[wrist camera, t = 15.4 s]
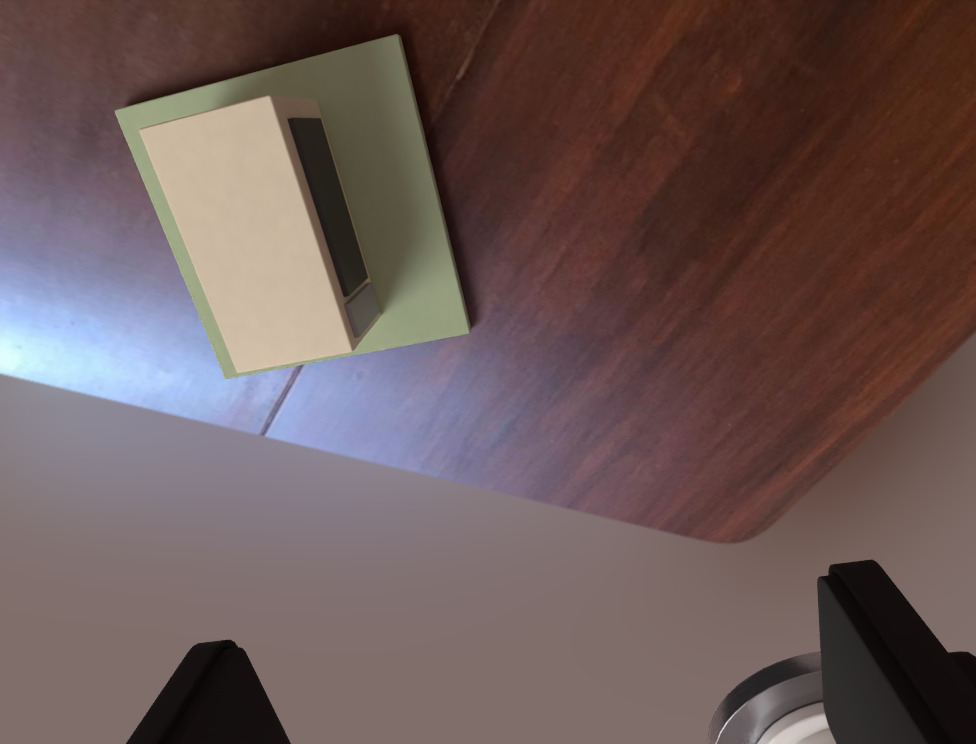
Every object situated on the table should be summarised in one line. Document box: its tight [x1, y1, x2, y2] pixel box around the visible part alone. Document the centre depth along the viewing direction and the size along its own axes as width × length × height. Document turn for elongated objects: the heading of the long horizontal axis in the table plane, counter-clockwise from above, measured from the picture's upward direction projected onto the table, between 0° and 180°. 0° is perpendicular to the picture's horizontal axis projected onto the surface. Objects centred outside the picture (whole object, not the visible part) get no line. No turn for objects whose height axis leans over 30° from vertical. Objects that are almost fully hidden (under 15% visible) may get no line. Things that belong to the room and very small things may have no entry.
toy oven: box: [139, 95, 381, 373], centre depth 31 cm, size 7×12×6 cm, turn 12°
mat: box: [114, 34, 471, 379], centre depth 34 cm, size 16×16×1 cm
